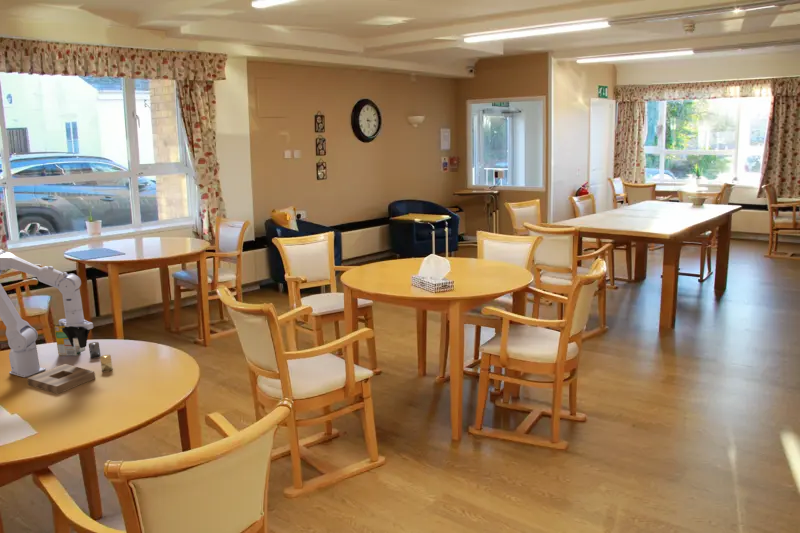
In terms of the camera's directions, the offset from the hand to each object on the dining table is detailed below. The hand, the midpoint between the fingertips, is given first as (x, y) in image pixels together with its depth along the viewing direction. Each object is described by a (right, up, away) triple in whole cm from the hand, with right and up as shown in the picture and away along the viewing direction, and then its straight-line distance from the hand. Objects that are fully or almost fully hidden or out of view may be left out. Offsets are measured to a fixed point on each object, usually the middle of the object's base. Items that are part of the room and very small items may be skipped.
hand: (79, 346), depth 244 cm
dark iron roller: (0, -5, +14) cm, 15 cm away
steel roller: (0, -2, +1) cm, 2 cm away
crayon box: (-11, -5, +17) cm, 21 cm away
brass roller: (+10, -8, 0) cm, 13 cm away
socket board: (-2, -11, -9) cm, 14 cm away
